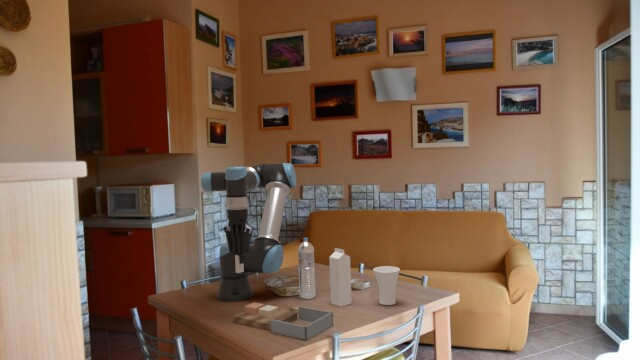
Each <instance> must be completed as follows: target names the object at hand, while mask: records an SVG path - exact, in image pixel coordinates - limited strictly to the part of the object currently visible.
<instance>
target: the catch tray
mask: <svg viewBox="0 0 640 360" xmlns="http://www.w3.org/2000/svg"><path fill="white" fill-rule="evenodd" d="M297 307H298V308H299V313H298V319H297V321H300V322H301V321H302V322H305V323H309V324H307V325H301V324H297V323H293V322H291V323H287V322H282V321H278V320H273V319H272V320H271V329H272V331H271V333H272V334H276V333H277V334H276V335H282V336H285V335H286V337H289V338H294V339H300V340H304V341H308V340H309V339H312V338H314V337H315V336H317V335H319V334H320V333H321V332H322V333H323V332H324V331H325V330H327V329H329V328H331V327H332V326H334V316H333V315H334V313H333V311H328V310H322V309H318V308H311V307H305V306H301V305H299V306H297Z"/></svg>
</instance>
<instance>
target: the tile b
mask: <svg viewBox="0 0 640 360" xmlns="http://www.w3.org/2000/svg"><path fill="white" fill-rule="evenodd" d="M278 309H279V306H275V305H274V306H273V305H269V304H266V305H264V307H262V308H260V309H258V312H259V316H261V317H266V318H271V317H273V316H275V315H277V314H279V312H278Z"/></svg>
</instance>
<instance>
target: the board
mask: <svg viewBox="0 0 640 360" xmlns="http://www.w3.org/2000/svg"><path fill="white" fill-rule="evenodd" d="M278 312H279V314H277V315H275V316H273V317H271V318H266V317H261V316H259V314H257V315H252V314H247V313H245V310H244V311H242V312H240V313H237V314H234V315H233V316H232V318H233V320H232V321H233V323H235V324H238V325H244V326H247V327H252V328H256V329H261V330H265V331H266V330H267V331H269V332H272V329H271V320H272V319H273V320H278V321H282V322H287V323H293V322H295V321H298V319H299V316H298V313H297V312H293V311H289V309H288V310H287V309H282V308H278Z"/></svg>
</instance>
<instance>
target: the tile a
mask: <svg viewBox="0 0 640 360" xmlns="http://www.w3.org/2000/svg"><path fill="white" fill-rule="evenodd" d="M264 306H265V304H264V303H259V302H258V303H257V302H252V303H249V304H247V305H245V306H244V311H245V313H247V314H252V315H257V314H259V312H258V309H260V308H262V307H264Z"/></svg>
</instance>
